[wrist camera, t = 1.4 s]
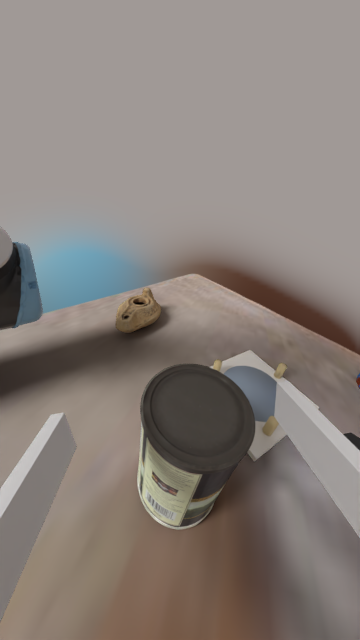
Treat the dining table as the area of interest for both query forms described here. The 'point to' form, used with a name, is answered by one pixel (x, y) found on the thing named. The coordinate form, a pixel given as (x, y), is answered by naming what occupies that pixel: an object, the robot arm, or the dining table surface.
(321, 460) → the robot arm
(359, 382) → the thermos
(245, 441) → the coffee can
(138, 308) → the oil lamp
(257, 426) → the pin jig
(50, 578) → the dining table surface
